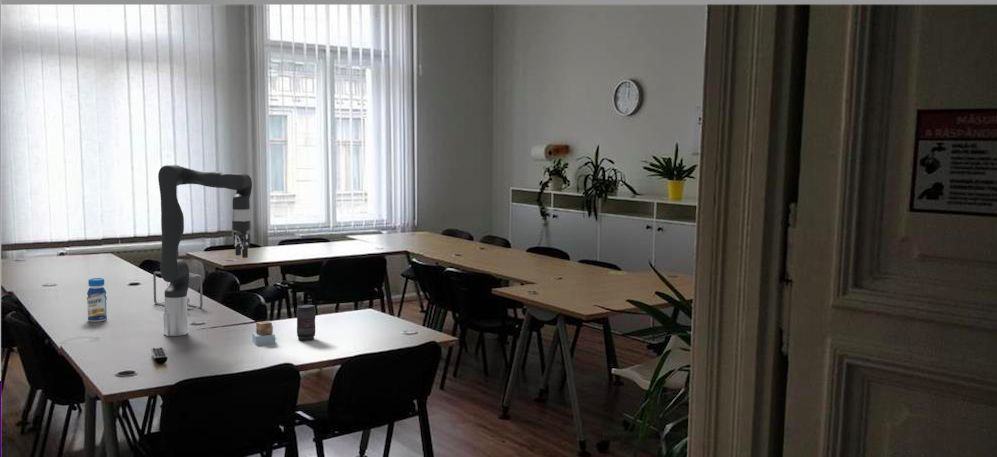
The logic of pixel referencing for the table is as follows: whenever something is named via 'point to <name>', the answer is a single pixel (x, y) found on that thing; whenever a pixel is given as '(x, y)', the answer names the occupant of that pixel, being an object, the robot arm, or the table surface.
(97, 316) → the beverage bottle
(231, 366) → the table surface
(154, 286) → the newton's cradle
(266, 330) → the walnut cube
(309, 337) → the camera lens
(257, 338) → the slate base block
